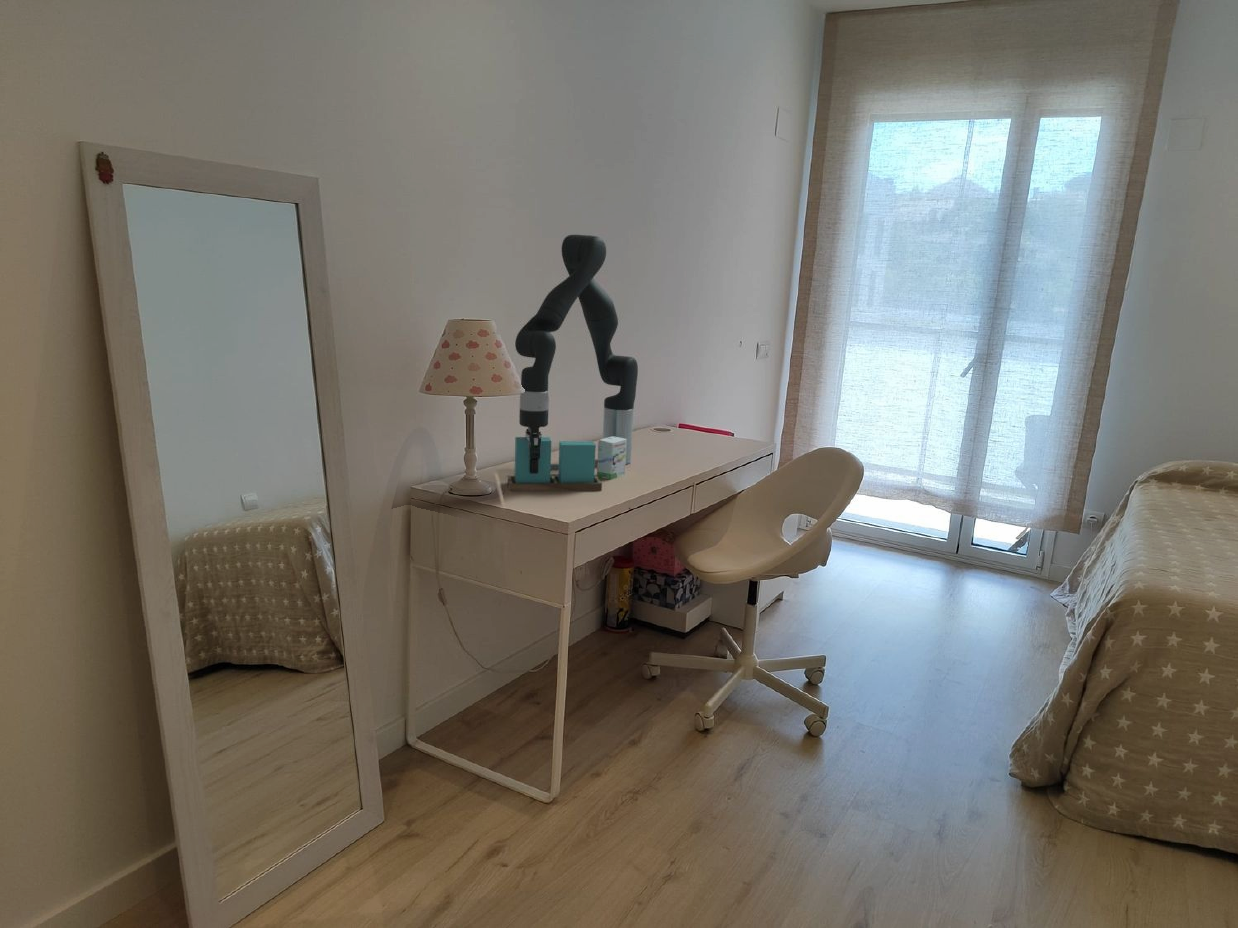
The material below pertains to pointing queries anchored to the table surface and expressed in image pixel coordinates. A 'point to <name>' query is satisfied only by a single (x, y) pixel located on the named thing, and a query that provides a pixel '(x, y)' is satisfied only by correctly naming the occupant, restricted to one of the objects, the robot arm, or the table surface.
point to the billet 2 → (576, 462)
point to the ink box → (611, 457)
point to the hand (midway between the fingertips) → (532, 470)
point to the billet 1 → (524, 462)
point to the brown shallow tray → (554, 485)
